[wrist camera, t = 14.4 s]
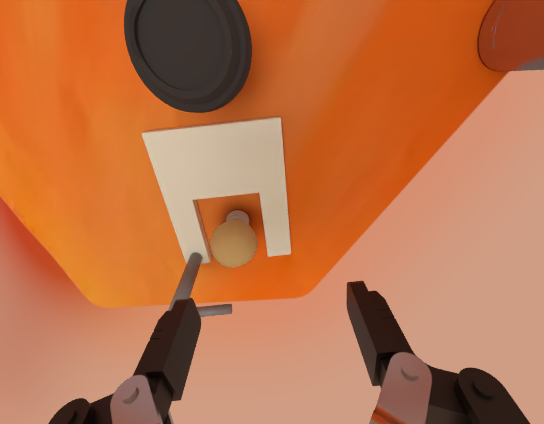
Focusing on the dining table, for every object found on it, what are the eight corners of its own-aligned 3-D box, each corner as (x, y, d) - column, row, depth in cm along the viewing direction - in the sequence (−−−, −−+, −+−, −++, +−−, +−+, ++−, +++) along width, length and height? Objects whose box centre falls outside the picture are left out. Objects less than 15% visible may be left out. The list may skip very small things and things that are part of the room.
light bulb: (229, 240, 41) (221, 282, 32) (210, 209, 38) (196, 247, 30) (263, 226, 40) (265, 267, 31) (247, 194, 37) (243, 229, 29)
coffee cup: (259, 22, 27) (259, -34, 14) (249, 107, 32) (242, 125, 18) (177, 4, 26) (95, -75, 13) (178, 94, 30) (116, 104, 17)
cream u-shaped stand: (279, 116, 32) (291, 136, 20) (290, 248, 43) (302, 313, 31) (146, 131, 32) (79, 159, 20) (189, 259, 43) (161, 327, 31)
